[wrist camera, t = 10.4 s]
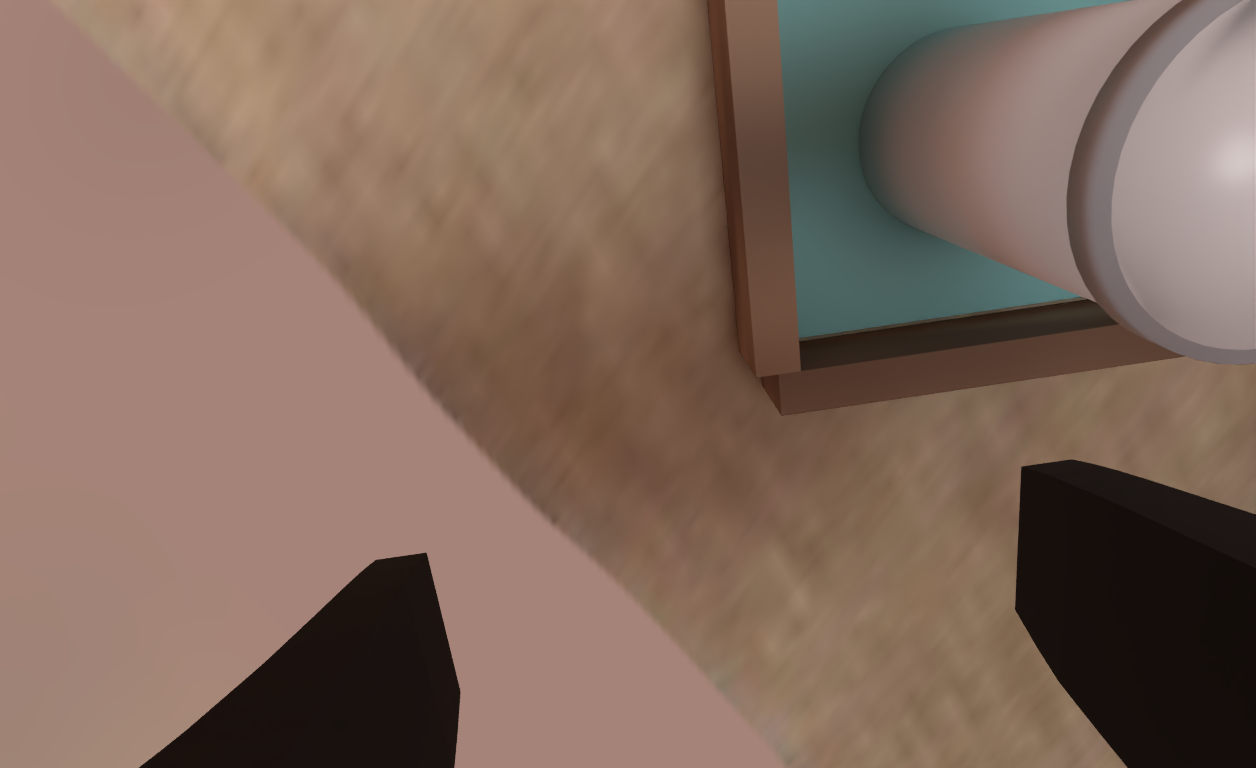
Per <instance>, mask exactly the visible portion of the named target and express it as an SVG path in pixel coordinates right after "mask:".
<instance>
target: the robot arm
mask: <svg viewBox="0 0 1256 768" xmlns="http://www.w3.org/2000/svg"><path fill="white" fill-rule="evenodd" d="M1015 610H1016V612H1017V614H1018V615H1019V617H1020V619H1021V621H1022V622H1023V624H1024V626H1025V627H1026V629H1027V631H1028V633H1029V634H1030V636H1031V638H1032V639H1033V641H1034V643H1035V645H1036V646H1037V648H1038V650H1039V651H1040V653H1041V654H1042V656H1043V657H1044V659H1045V661H1046V662H1047V664H1048V665H1049V667H1050V668H1051V670H1052V672H1053V673H1054V675H1055V676H1056V678H1057V680H1058V681H1059V682H1060V684H1061V685H1062V686H1063V688H1064V689H1065V690H1066V691H1067V693H1068V694H1069V695H1070V697H1071V698H1072V699H1073V700H1074V702H1075V703H1076V704H1077V705H1078V707H1079V708H1080V709H1081V710H1082V712H1083V713H1084V714H1085V715H1086V717H1087V718H1088V719H1089V720H1090V722H1091V723H1092V724H1093V725H1094V727H1095V728H1096V729H1097V730H1098V732H1099V733H1100V734H1101V735H1102V737H1103V738H1104V739H1105V740H1106V742H1107V743H1108V744H1109V745H1110V746H1111V748H1112V749H1113V750H1114V751H1115V753H1116V754H1117V755H1118V756H1119V757H1120V759H1121V760H1122V761H1123V762H1124V764H1125V765H1126V766H1127V767H1128V768H1256V514H1252V513H1249V512H1246V511H1243V510H1240V509H1237V508H1234V507H1231V506H1227V505H1224V504H1221V503H1218V502H1215V501H1212V500H1209V499H1206V498H1203V497H1200V496H1197V495H1194V494H1190V493H1187V492H1184V491H1181V490H1178V489H1175V488H1172V487H1169V486H1166V485H1163V484H1159V483H1156V482H1153V481H1150V480H1147V479H1144V478H1140V477H1137V476H1134V475H1131V474H1127V473H1124V472H1121V471H1117V470H1114V469H1110V468H1106V467H1103V466H1099V465H1095V464H1091V463H1086V462H1081V461H1077V460H1064V461H1058V462H1051V463H1044V464H1037V465H1030V466H1023V467H1021V489H1020V511H1019V534H1018V556H1017V579H1016V601H1015ZM459 703H460V688H459V684H458V680H457V676H456V672H455V668H454V664H453V659H452V655H451V651H450V647H449V643H448V639H447V635H446V631H445V627H444V622H443V619H442V614H441V610H440V606H439V602H438V598H437V594H436V590H435V586H434V581H433V577H432V574H431V569H430V565H429V561H428V557H427V553H421V554H415V555H408V556H400V557H393V558H386V559H380V560H375V561H374V562H373V563H372V564H370V565H369V566H368V567H367V568H365V569H364V570H363V571H362V572H361V573H359V574H358V576H356V577H355V578H354V579H353V580H352V581H351V582H350V583H349V584H348V585H346V586H345V587H344V588H343V589H342V590H341V591H340V592H339V593H338V594H337V595H336V596H335V597H334V598H333V599H332V600H331V601H330V602H329V603H327V604H326V605H325V606H324V607H323V608H322V609H321V610H320V611H319V612H318V613H317V614H316V615H315V616H314V617H313V618H312V619H311V620H310V621H309V622H307V623H306V624H305V625H304V626H303V627H302V628H301V629H300V630H299V631H298V632H297V633H296V634H295V635H294V636H292V638H290V639H289V640H288V641H287V642H286V643H285V644H284V645H283V646H282V647H281V648H280V649H279V650H278V651H276V653H274V654H273V655H272V656H271V657H270V658H269V659H268V660H267V661H266V662H265V663H264V664H262V666H260V667H259V668H258V669H257V670H256V671H255V672H253V673H252V674H251V675H250V676H249V677H248V678H246V679H245V680H244V681H243V682H242V683H241V684H240V685H238V686H237V687H236V688H235V689H234V690H232V691H231V692H230V693H229V694H228V695H227V696H226V697H224V698H223V699H222V700H221V701H220V702H219V703H218V704H216V705H215V706H214V707H213V708H212V709H210V710H209V711H208V712H207V713H206V714H205V715H204V716H202V717H201V718H200V719H199V720H198V721H197V722H195V723H194V724H193V725H192V726H191V727H190V728H189V729H187V730H186V731H185V732H184V733H182V734H181V735H180V736H179V737H177V738H176V739H175V740H174V741H172V742H171V743H170V744H169V745H167V746H166V747H165V748H164V749H162V750H161V751H160V752H159V753H157V754H156V755H155V756H154V757H152V758H151V759H150V760H148V761H147V762H146V763H144V764H143V765H142V766H141V767H139V768H454V765H455V754H456V743H457V732H458V718H459Z"/></svg>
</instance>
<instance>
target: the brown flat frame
mask: <svg viewBox="0 0 1256 768" xmlns="http://www.w3.org/2000/svg"><path fill="white" fill-rule="evenodd" d="M1125 1H1132V0H708V12H709V23H710V34H711V45H712V56H713V67H714V78H715V89H716V100H717V111H718V122H719V133H720V144H721V155H722V166H723V177H724V188H725V199H726V210H727V221H728V232H729V244H730V255H731V266H732V277H733V288H734V299H735V310H736V321H737V332H738V343H739V351H740V353H741V354H742V356H743V358H744V359H745V361H746V362H747V364H748V365H749V367H750V369H751V370H752V372H753V373H754V375H755V376H756V378H758V377H762V386H763V387H764V389H765V391H766V392H767V394H768V395H769V397H770V398H771V400H772V402H773V403H774V405H775V406H776V408H777V409H778V411H779V412H780V414H781V416H784V415H791V414H798V413H805V412H812V411H818V410H825V409H832V408H839V407H845V406H852V405H859V404H866V403H873V402H879V401H886V400H893V399H900V398H906V397H913V396H920V395H927V394H934V393H940V392H947V391H954V390H961V389H967V388H974V387H981V386H988V385H995V384H1001V383H1008V382H1015V381H1022V380H1029V379H1035V378H1042V377H1049V376H1056V375H1062V374H1069V373H1076V372H1083V371H1090V370H1096V369H1103V368H1110V367H1117V366H1123V365H1130V364H1137V363H1144V362H1151V361H1157V360H1164V359H1171V358H1178V357H1184V356H1183V355H1180V354H1177V353H1175V352H1173V351H1170V350H1168V349H1166V348H1164V347H1161V346H1159V345H1157V344H1154V343H1152V342H1150V341H1148V340H1145V339H1143V338H1141V337H1140V336H1138V335H1136V334H1134V333H1132V332H1130V331H1128V330H1127V329H1125V328H1124V327H1123V326H1121V325H1120V324H1119V323H1117V322H1116V321H1115V320H1113V319H1112V318H1111V317H1110V316H1109V315H1108V314H1107V313H1106V312H1105V311H1104V310H1103V309H1102V308H1101V307H1100V306H1099V305H1098V303H1096V302H1094V301H1091V300H1083V301H1076V302H1069V303H1062V304H1055V305H1049V306H1042V307H1035V308H1028V309H1021V310H1014V311H1008V312H1001V313H994V314H987V315H980V316H973V317H967V318H960V319H953V320H946V321H939V322H932V323H926V324H919V325H912V326H905V327H898V328H891V329H885V330H878V331H871V332H864V333H857V334H850V335H844V336H837V337H830V338H823V339H816V340H809V341H803V342H799V338H803V337H810V336H817V335H824V334H831V333H838V332H844V331H851V330H858V329H865V328H872V327H879V326H885V325H892V324H899V323H906V322H913V321H920V320H926V319H933V318H940V317H947V316H954V315H961V314H967V313H974V312H981V311H988V310H995V309H1002V308H1008V307H1015V306H1022V305H1029V304H1036V303H1043V302H1049V301H1056V300H1063V299H1070V298H1077V297H1081V296H1079V295H1077V294H1074V293H1072V292H1069V291H1067V290H1064V289H1062V288H1060V287H1057V286H1055V285H1052V284H1050V283H1047V282H1045V281H1042V280H1040V279H1038V278H1035V277H1033V276H1030V275H1028V274H1025V273H1023V272H1021V271H1018V270H1016V269H1013V268H1011V267H1008V266H1006V265H1004V264H1001V263H999V262H996V261H994V260H991V259H989V258H986V257H984V256H982V255H979V254H977V253H974V252H972V251H969V250H967V249H965V248H962V247H960V246H957V245H955V244H952V243H950V242H948V241H945V240H943V239H940V238H938V237H935V236H933V235H931V234H928V233H926V232H923V231H921V230H918V229H916V228H913V227H911V226H909V225H907V224H905V223H903V222H901V221H899V220H898V219H896V218H895V217H894V216H892V215H891V214H889V213H888V212H887V211H886V210H885V209H884V208H883V207H882V206H881V205H880V203H879V202H878V201H877V199H876V198H875V197H874V195H873V193H872V192H871V190H870V188H869V186H868V184H867V182H866V179H865V176H864V174H863V170H862V165H861V161H860V151H859V135H860V128H861V121H862V117H863V114H864V110H865V107H866V104H867V102H868V99H869V97H870V94H871V92H872V90H873V89H874V87H875V85H876V83H877V81H878V80H879V78H880V77H881V76H882V74H883V73H884V71H885V70H886V69H887V67H888V66H889V65H890V64H891V63H892V62H893V61H894V60H895V59H896V58H897V57H898V56H899V55H900V54H901V53H902V52H903V51H905V50H906V49H907V48H908V47H910V46H911V45H913V44H914V43H916V42H917V41H919V40H921V39H923V38H925V37H926V36H928V35H930V34H933V33H936V32H938V31H941V30H944V29H949V28H953V27H958V26H965V25H972V24H978V23H985V22H992V21H998V20H1005V19H1012V18H1018V17H1025V16H1032V15H1038V14H1045V13H1052V12H1058V11H1065V10H1072V9H1078V8H1085V7H1092V6H1098V5H1105V4H1112V3H1118V2H1125Z"/></svg>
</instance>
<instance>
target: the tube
mask: <svg viewBox="0 0 1256 768" xmlns="http://www.w3.org/2000/svg"><path fill="white" fill-rule="evenodd" d="M859 151H860V161H861V165H862V170H863V174H864V176H865V179H866V182H867V184H868V186H869V188H870V190H871V192H872V193H873V195H874V197H875V198H876V199H877V201H878V202H879V203H880V205H881V206H882V207H883V208H884V209H885V210H886V211H887V212H888V213H889V214H891V215H892V216H894V217H895V218H896V219H898V220H899V221H901V222H903V223H905V224H907V225H909V226H911V227H913V228H916V229H918V230H921V231H923V232H926V233H928V234H931V235H933V236H935V237H938V238H940V239H943V240H945V241H948V242H950V243H952V244H955V245H957V246H960V247H962V248H965V249H967V250H969V251H972V252H974V253H977V254H979V255H982V256H984V257H986V258H989V259H991V260H994V261H996V262H999V263H1001V264H1004V265H1006V266H1008V267H1011V268H1013V269H1016V270H1018V271H1021V272H1023V273H1025V274H1028V275H1030V276H1033V277H1035V278H1038V279H1040V280H1042V281H1045V282H1047V283H1050V284H1052V285H1055V286H1057V287H1060V288H1062V289H1064V290H1067V291H1069V292H1072V293H1074V294H1077V295H1079V296H1081V297H1084V298H1086V299H1089V300H1091V301H1094V302H1096V303H1098V305H1099V306H1100V307H1101V308H1102V309H1103V310H1104V311H1105V312H1106V313H1107V314H1108V315H1109V316H1110V317H1111V318H1112V319H1113V320H1115V321H1116V322H1117V323H1119V324H1120V325H1121V326H1123V327H1124V328H1125V329H1127V330H1128V331H1130V332H1132V333H1134V334H1136V335H1138V336H1140V337H1141V338H1143V339H1145V340H1148V341H1150V342H1152V343H1154V344H1157V345H1159V346H1161V347H1164V348H1166V349H1168V350H1170V351H1173V352H1175V353H1177V354H1180V355H1183V356H1186V357H1189V358H1192V359H1195V360H1200V361H1205V362H1211V363H1216V364H1237V365H1242V364H1253V363H1256V0H1132V1H1125V2H1118V3H1112V4H1105V5H1098V6H1092V7H1085V8H1078V9H1072V10H1065V11H1058V12H1052V13H1045V14H1038V15H1032V16H1025V17H1018V18H1012V19H1005V20H998V21H992V22H985V23H978V24H972V25H965V26H958V27H953V28H949V29H944V30H941V31H938V32H936V33H933V34H930V35H928V36H926V37H925V38H923V39H921V40H919V41H917V42H916V43H914V44H913V45H911V46H910V47H908V48H907V49H906V50H905V51H903V52H902V53H901V54H900V55H899V56H898V57H897V58H896V59H895V60H894V61H893V62H892V63H891V64H890V65H889V66H888V67H887V69H886V70H885V71H884V73H883V74H882V76H881V77H880V78H879V80H878V81H877V83H876V85H875V87H874V89H873V90H872V92H871V94H870V97H869V99H868V102H867V104H866V107H865V110H864V114H863V117H862V121H861V128H860V135H859Z"/></svg>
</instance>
